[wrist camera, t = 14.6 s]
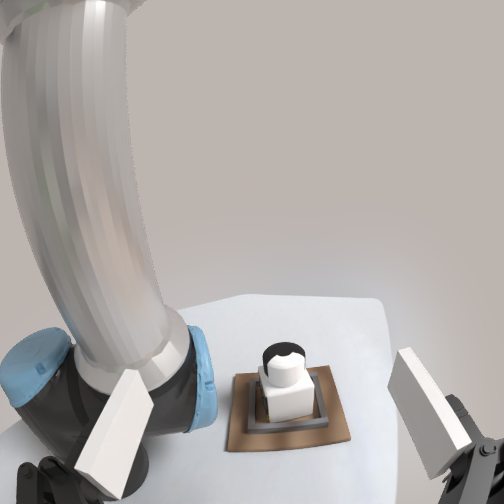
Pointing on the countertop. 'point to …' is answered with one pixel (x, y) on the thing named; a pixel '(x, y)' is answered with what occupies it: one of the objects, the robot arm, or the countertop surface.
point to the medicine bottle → (285, 383)
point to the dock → (290, 431)
